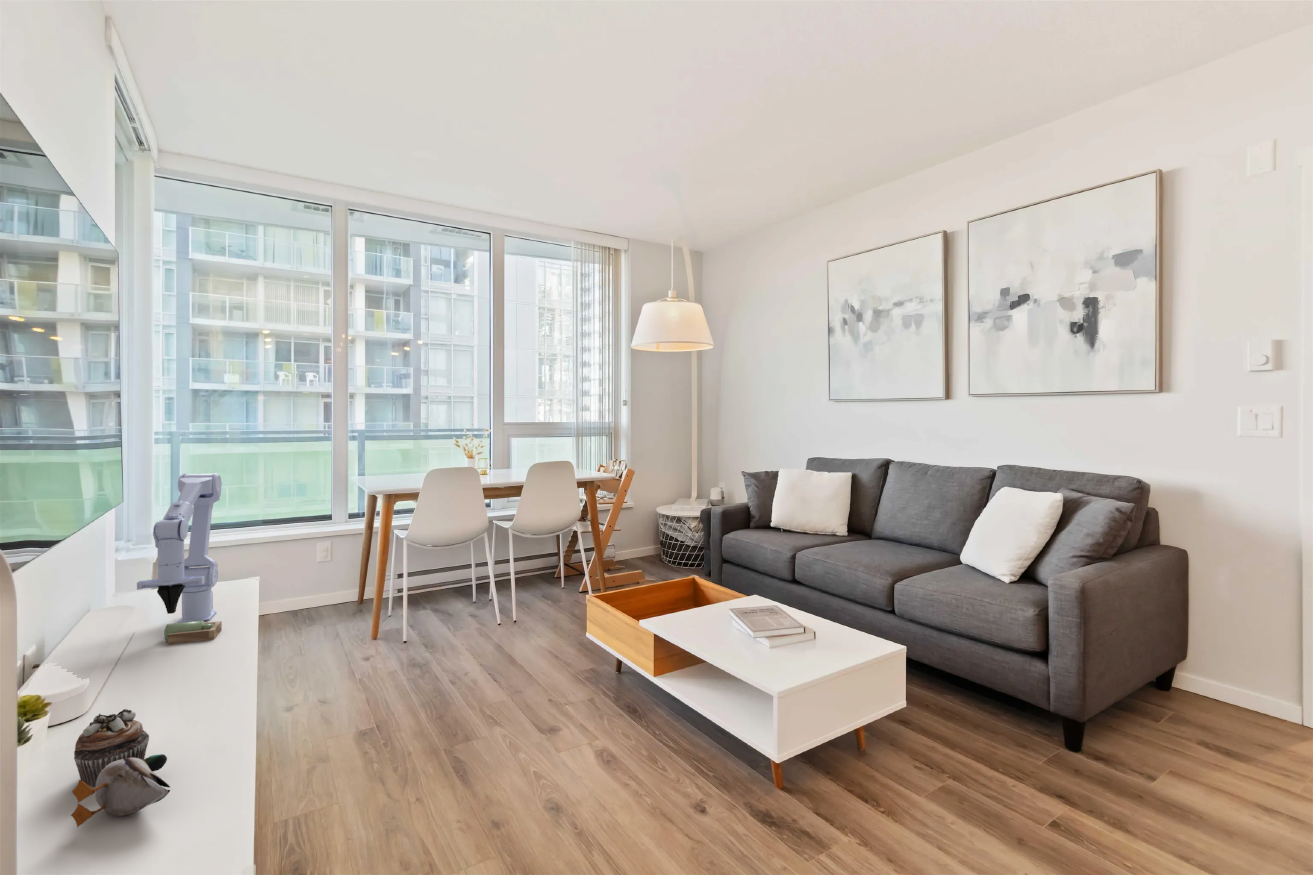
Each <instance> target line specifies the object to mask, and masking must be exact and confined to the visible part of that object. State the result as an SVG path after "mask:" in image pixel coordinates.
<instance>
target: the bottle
mask: <svg viewBox="0 0 1313 875" xmlns="http://www.w3.org/2000/svg"><path fill="white" fill-rule="evenodd" d="M204 623H205V621H193V622H183V623H177V622H175V623H166V625H165V627H164V639H165V641H166V642H168V634H170V633H179V632H189V631H198V630H207V629H211V628H212V626H213V625H214V624H204Z"/></svg>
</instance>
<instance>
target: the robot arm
mask: <svg viewBox="0 0 1313 875" xmlns="http://www.w3.org/2000/svg"><path fill="white" fill-rule="evenodd" d="M222 484H223V483H222V477H221V475H220V474H219V473H218V472H214V473H181V475H180V476H179V477H178V481H177V488H178V491H179V496H178V499H177V501H175V502H173V503H171V505H169V507H168V509H167V511H166V513H165V515H164V516H163V518H162V519H160V520H159V521H156V522H155V524H154V526H153V529H152V530H153V532H152V536H153V540H154V547H155V548H156V549H157V578H155V579H154V578H153V579H146V580H139V581H138V582H136V590H138V591H139V590H143V589H155V588H157V590H156V593H157V594H158V596H159V597H160V598H161V600H162V602H163V604H164V607H165V610H166V613H167V614H175V613H176V611H177V606H178V603H179V600H180V598H181V617H180V618H179V619H178V620H177V621H176V623H183V622H193V621H204V622H205V621H210V620H211V619H212V617H213V616H214V615H215V614H216V613H217V611H218V610H216V609H215V610H214V593H213V592H214V591H213V590H212V589H213V588H214V587H215V586H216V584H217V582H218V580H219V570H218V566H219V565H218V562H217V561H216V560H214V559H213V558H212V557H210V556H208V554H209V545H210V537H211V536H210V534H211V526H212V525H211V524H212V515H213V508H214V504H215V503H216V502H219V501H220V498H221V494H222V486H223V485H222ZM191 518H192V520H191ZM190 520H191V526H190V524H189V522H190ZM189 526H190V527H191V528H190V538H189V544H188V545H189V546H188V554H187V557H186V558H185V540H186V538H187V537H188V533H189Z"/></svg>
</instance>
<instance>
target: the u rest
mask: <svg viewBox="0 0 1313 875" xmlns="http://www.w3.org/2000/svg"><path fill="white" fill-rule="evenodd" d="M204 624H214V625H213V626H212V628H211V629H207V630H198V631H189V632H179V633H170V634H168V641H167V645H173V644H181V643H191V642H199V641H200V642H201V641H206V640H207V641H208V640H209V641H210V640H215V639H216V637H217V636H218V635H219V634H220V633H221V631H222V628H223V626H222V625H223V624H222V620H221V621H209V622H204Z"/></svg>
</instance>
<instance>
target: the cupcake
mask: <svg viewBox="0 0 1313 875" xmlns="http://www.w3.org/2000/svg"><path fill="white" fill-rule="evenodd" d="M136 716H137V715H136V712H134V711H132V710H131V709H126V708H125V709H122V710H121V711H120V712H118V713H117V714H116V713H112V714H108V715H107V714H106V715H105V714H101V713H98V715H95V717H94V718H93V721H91V722H90V723H89V725H88V726H87V727H85V728H84V729H83V731H82V733H81V734H80V735H79V736H78V738H77V740H76V742H75V746H74V752H73V753H74V754H73V755H74V757H73V759H74V762H75V765H76V768H77V772H78V775H79V778H80V779H79V780H81V781H83V782H85V783H86V784H87V785H88V786H89V787H91V788H92V787H93V788H94V787H95V786H96V781H97V777H98V775H99V774H100V772H101V771H102V770H103V769H104V768H105V767H106V766H107V765H108V764H110V763H112V762H114V761H117V760H121V759H125V758H139V759H141V760H144V759H146V754H147V753H146V752H147V749H148V745H149V741H150V734H149V733H148V732H147V731H146V730H144V728H143V724H142V723H141V722H140V721H138V720H136V719H135V718H136Z"/></svg>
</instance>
